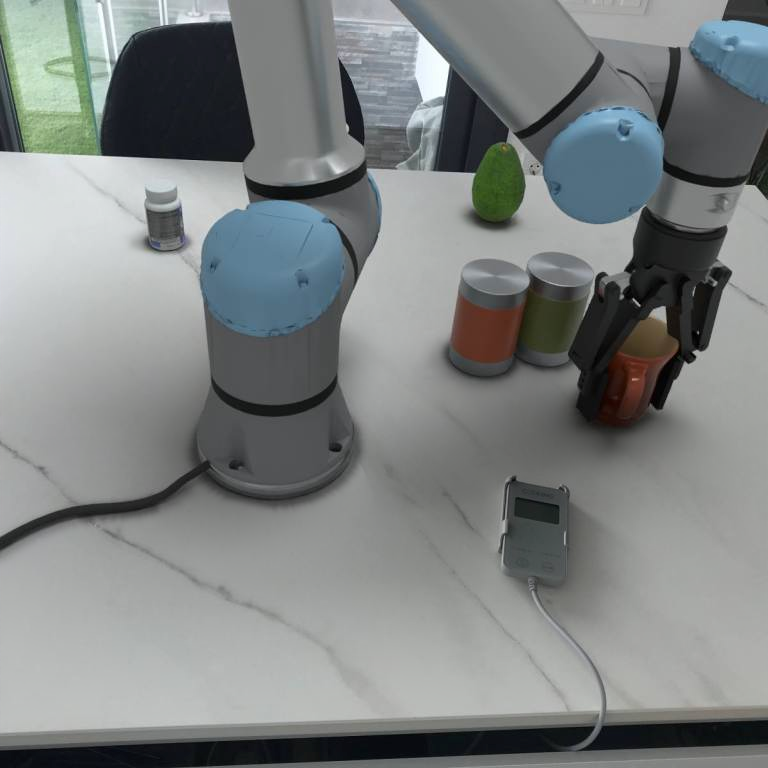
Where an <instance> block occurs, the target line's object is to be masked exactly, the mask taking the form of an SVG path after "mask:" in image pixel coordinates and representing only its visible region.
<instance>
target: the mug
mask: <svg viewBox="0 0 768 768" xmlns="http://www.w3.org/2000/svg"><path fill="white" fill-rule="evenodd" d="M678 349H679V341H678V340H677V339H675V338H673V337H671V336H670V335H669V334H668V333H667V322H666V321H663V320H661V319H660V318H659V317H657V316H655V315H652V314H650V315H649V316H648V317H647V319H646V320H641V321H639V323H638V324H637V326H636V327H635V328H634V330H633V331H632V332H631V334H630V335H629V337H628V338H627V339H626V341H625V342H624V343H623V345H622V346H621V348H620V349H619V350H618V352H617V353H616V354H615V356H614V357H613V359H612V360H611V361H610V363H609V364H608V366H607V367H606V368H605V369H606V370H607V371H608V372H609V373H610V376H609V379H608V382H607V385H606V388H605V391H604V394H603V397H602V400H601V403H600V406H599V410H598V413H597V416H596V419H595V422H597V423H599V424H602V425H605V426H608V427H615V428H624V427H630V426H633V425H635V424H637V423H638V422H639V421H640V420H641V419H642V418H643V416H644V415H645V414H646V412H647V410H648V409H649V408H650V405H651V399H652V396H653V394H654V391H655V388H656V385H657V382H658V378H659V376H660V373H661V371H662V369H663V368H664V366H665V365H666V364H667V362H668V361H669V360H670V359H671V358H672V357H673V356H674V355H675V353H676V352H677V350H678ZM596 357H597V356H596Z"/></svg>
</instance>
